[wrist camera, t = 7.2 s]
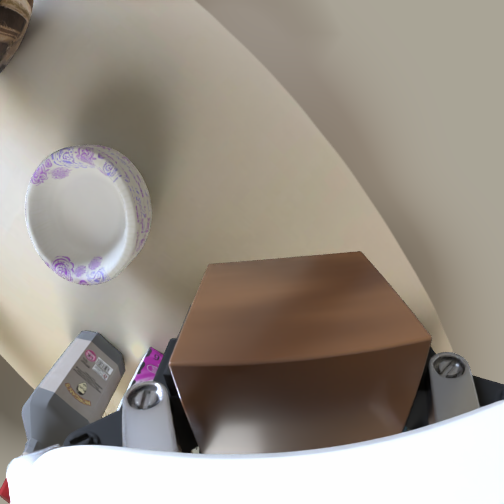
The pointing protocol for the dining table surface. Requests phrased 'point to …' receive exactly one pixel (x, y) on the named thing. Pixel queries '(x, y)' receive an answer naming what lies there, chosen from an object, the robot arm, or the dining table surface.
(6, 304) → the dining table surface
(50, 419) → the liquor
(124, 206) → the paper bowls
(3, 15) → the sphere
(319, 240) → the dining table surface
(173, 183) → the dining table surface
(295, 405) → the walnut block
